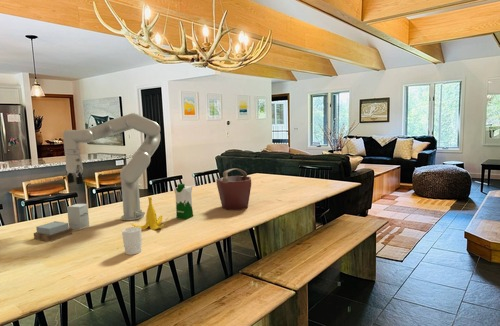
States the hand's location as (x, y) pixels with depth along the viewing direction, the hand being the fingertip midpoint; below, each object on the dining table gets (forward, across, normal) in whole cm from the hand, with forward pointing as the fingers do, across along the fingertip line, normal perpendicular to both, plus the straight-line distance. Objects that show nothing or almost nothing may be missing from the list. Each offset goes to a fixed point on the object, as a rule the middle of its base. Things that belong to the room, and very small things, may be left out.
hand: (75, 183), depth 186 cm
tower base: (+24, -9, +18) cm, 31 cm away
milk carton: (+24, -42, -41) cm, 63 cm away
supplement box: (+24, -6, +3) cm, 25 cm away
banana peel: (+24, -39, -17) cm, 49 cm away
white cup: (+24, -63, +8) cm, 68 cm away
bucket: (+24, -52, -75) cm, 94 cm away
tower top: (+21, -9, +18) cm, 29 cm away
